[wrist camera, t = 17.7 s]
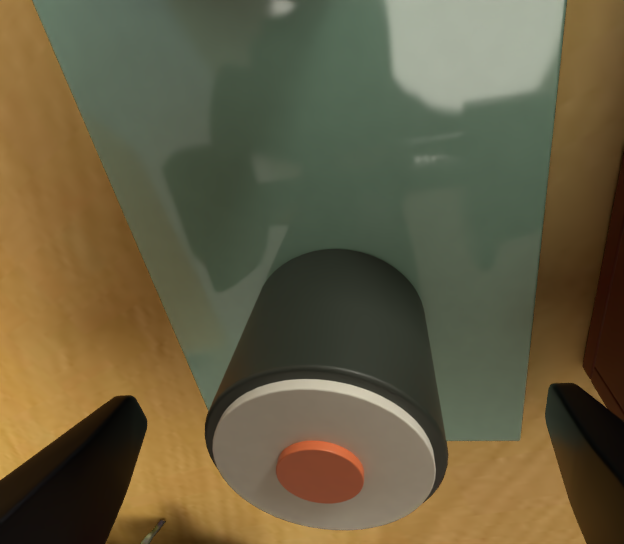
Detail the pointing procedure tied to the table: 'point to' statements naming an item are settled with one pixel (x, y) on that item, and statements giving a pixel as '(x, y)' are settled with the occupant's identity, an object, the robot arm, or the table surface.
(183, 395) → the table surface
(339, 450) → the cylinder
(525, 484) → the table surface
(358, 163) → the plate
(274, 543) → the table surface
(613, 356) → the sushi box
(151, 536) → the passion flower
